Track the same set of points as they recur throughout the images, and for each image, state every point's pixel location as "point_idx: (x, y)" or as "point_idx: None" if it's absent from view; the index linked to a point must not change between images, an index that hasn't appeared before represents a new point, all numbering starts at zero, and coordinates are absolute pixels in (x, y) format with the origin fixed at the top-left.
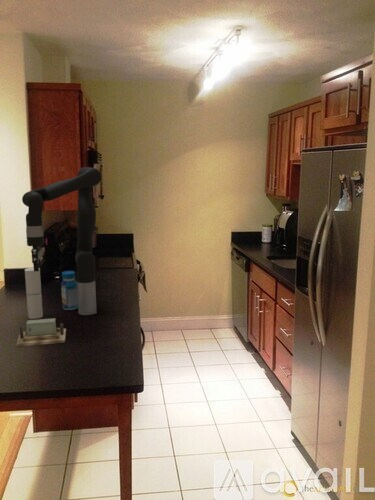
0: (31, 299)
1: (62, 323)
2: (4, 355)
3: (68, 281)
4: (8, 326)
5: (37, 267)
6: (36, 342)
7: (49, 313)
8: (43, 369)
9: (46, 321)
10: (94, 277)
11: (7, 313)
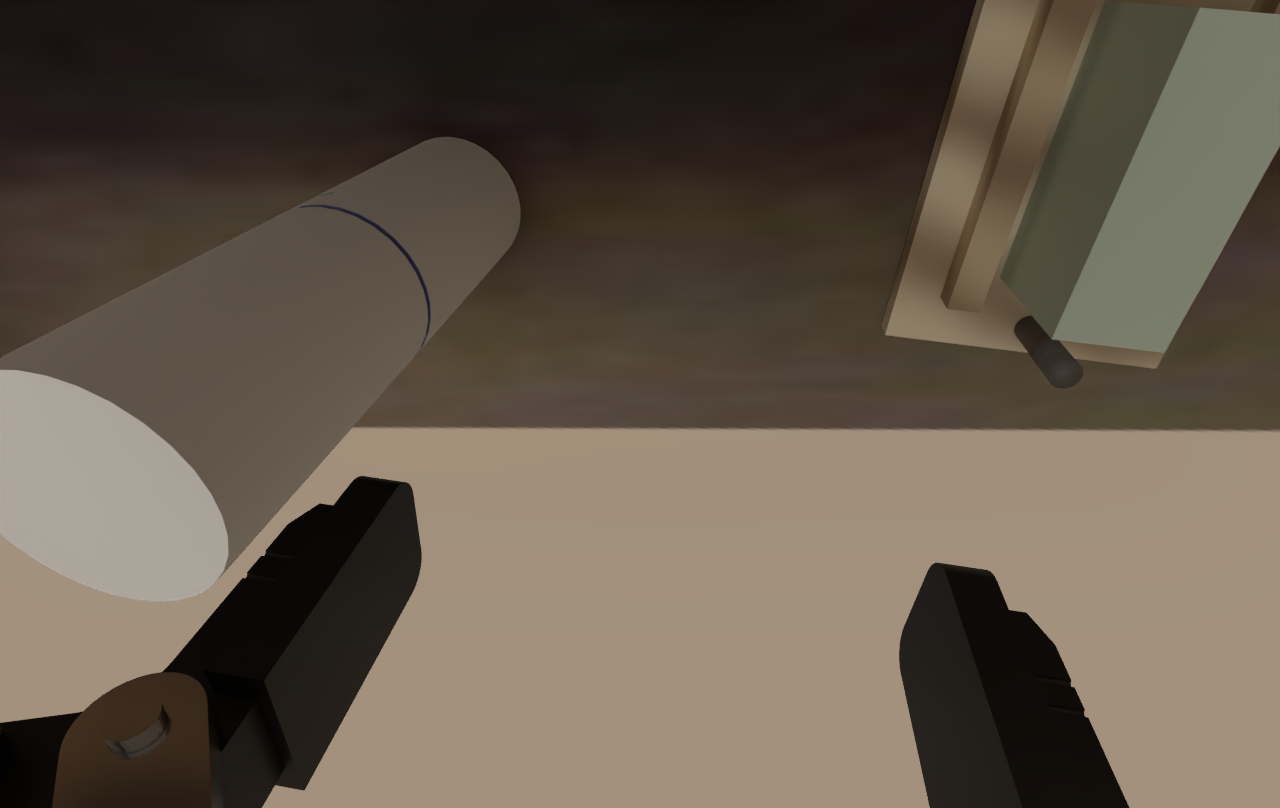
0: (451, 304)
1: None
2: (1263, 430)
3: None
4: (651, 405)
5: (1077, 703)
6: (1242, 212)
7: (384, 66)
8: None
9: (1246, 136)
10: None
11: None
